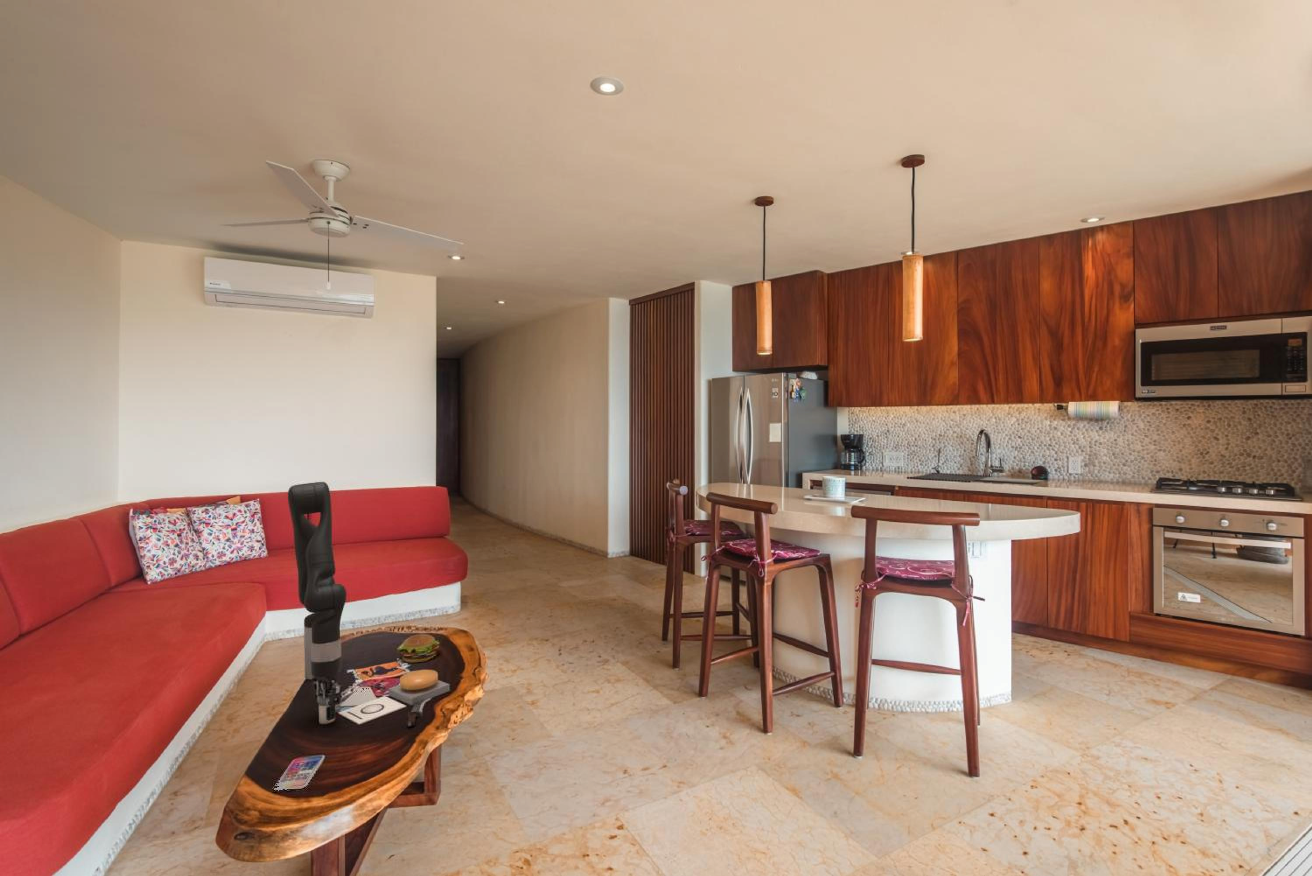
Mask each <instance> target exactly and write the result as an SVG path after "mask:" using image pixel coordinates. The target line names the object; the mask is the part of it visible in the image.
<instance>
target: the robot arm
mask: <svg viewBox="0 0 1312 876" xmlns="http://www.w3.org/2000/svg"><path fill="white" fill-rule="evenodd" d="M287 504H288V509H289V513H290V517H291V524H292V530H293V531H292V532H293V544H294V545H293V546H294V554H295V559H296V567H297V586H298V592H297V593H298V600H299V602H300V604H301V605H303V606H304V608H305V610H306V611H307V612H308V613H310V614H308V615H307V616H305V617H304V618H303V632H304V633H303V640H304V678H305V679H307V680H311V684H312V692H313V696H314V699H315V700H317V701H316V702H317V703H318V704H319V696H321V695H323V698H324V699H325V700H326V719H327V720H332V719H334V718H335V719H336V718H337V717H336V716H337V715H336V712H335V709H336V706H337V705H340V704H341V699H342V693H343V685H342V684H339V685H338V679H337V674H338V673H340V672H341V671H342V643H341V619H342V614H343V611H344V607H345V606H346V601H347V590H346V587H345V586H344V585H343V584H341V583H336V580H335V578H334V575H336V563H335V557H334V550H333V549H334V548H333V518H332V515H333V514H332V499H331V491H330V487H329V485H328V483H326V482H325V481H316V482H315V481H314V482H309V483H300V484H294V485H292V486H290V487H289V489H288V492H287ZM318 513H320V517H319V522H318V525H316V524H315V523H313V522H311V521H310V520H309V519H308V518H307V517H306V515H309V514H318ZM329 693H331V694H330V695H327V694H329ZM329 698H330V701H329Z"/></svg>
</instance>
